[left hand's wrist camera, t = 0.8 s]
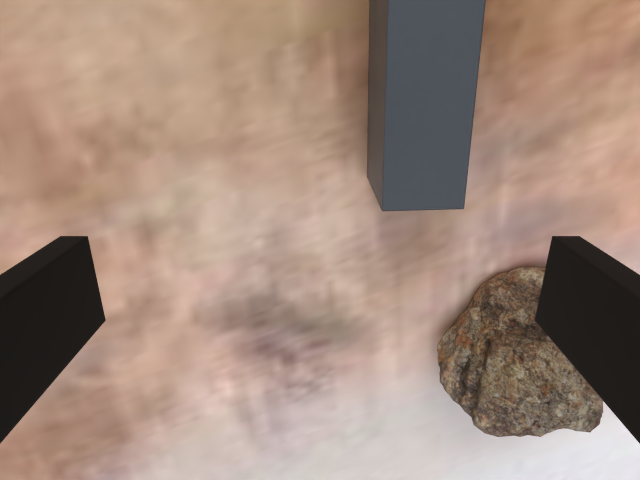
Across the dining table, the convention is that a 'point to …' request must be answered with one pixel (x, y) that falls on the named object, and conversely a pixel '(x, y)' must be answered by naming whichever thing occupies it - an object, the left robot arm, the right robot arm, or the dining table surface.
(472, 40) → the bar
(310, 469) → the dining table surface
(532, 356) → the rock
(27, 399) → the left robot arm
